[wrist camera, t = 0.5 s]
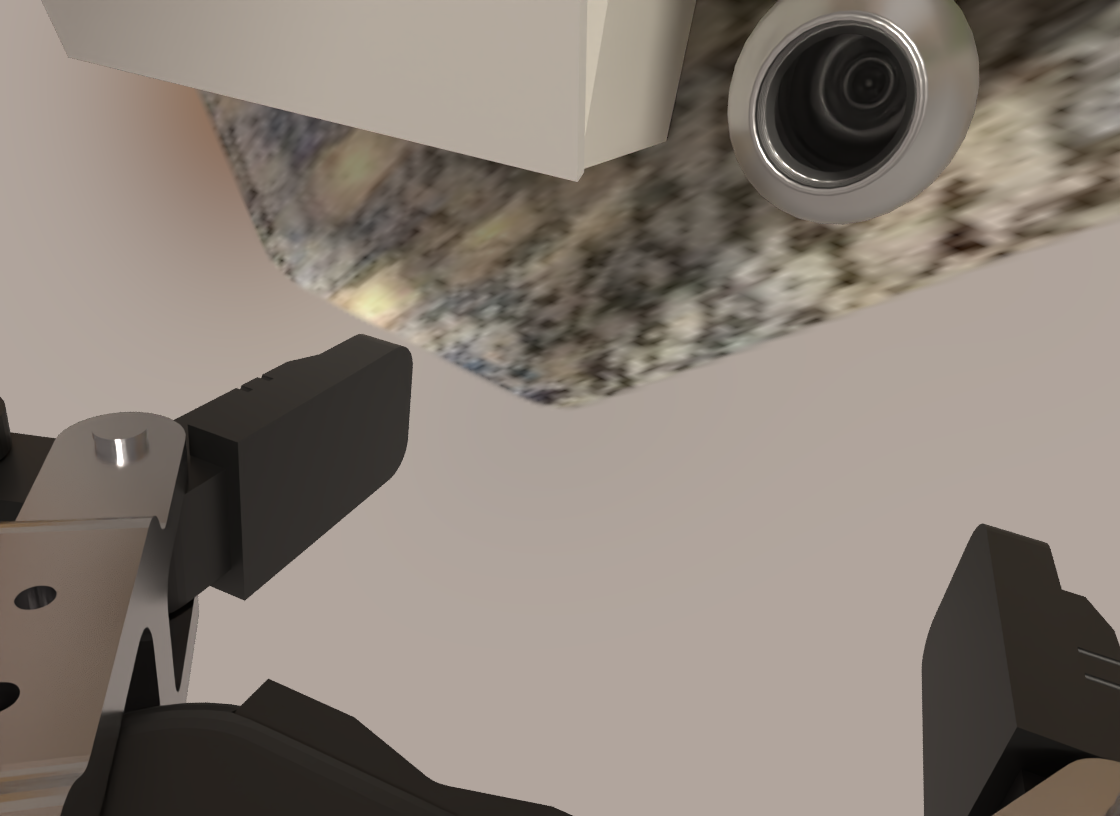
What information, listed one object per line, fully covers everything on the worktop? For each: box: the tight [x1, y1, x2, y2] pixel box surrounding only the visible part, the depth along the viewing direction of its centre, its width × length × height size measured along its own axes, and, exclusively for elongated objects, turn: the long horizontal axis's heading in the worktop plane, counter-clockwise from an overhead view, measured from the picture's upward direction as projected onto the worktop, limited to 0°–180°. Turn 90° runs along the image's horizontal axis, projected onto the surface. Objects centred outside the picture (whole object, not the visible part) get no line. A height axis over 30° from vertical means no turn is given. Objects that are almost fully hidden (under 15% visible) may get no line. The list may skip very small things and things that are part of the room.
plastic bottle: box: [727, 0, 979, 224], centre depth 26 cm, size 6×7×20 cm
